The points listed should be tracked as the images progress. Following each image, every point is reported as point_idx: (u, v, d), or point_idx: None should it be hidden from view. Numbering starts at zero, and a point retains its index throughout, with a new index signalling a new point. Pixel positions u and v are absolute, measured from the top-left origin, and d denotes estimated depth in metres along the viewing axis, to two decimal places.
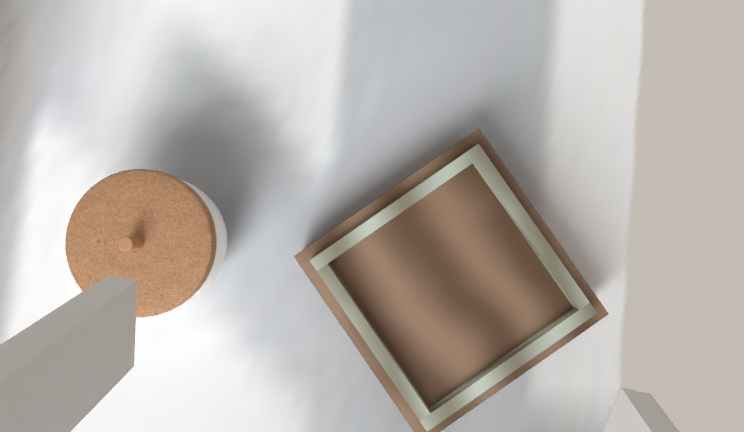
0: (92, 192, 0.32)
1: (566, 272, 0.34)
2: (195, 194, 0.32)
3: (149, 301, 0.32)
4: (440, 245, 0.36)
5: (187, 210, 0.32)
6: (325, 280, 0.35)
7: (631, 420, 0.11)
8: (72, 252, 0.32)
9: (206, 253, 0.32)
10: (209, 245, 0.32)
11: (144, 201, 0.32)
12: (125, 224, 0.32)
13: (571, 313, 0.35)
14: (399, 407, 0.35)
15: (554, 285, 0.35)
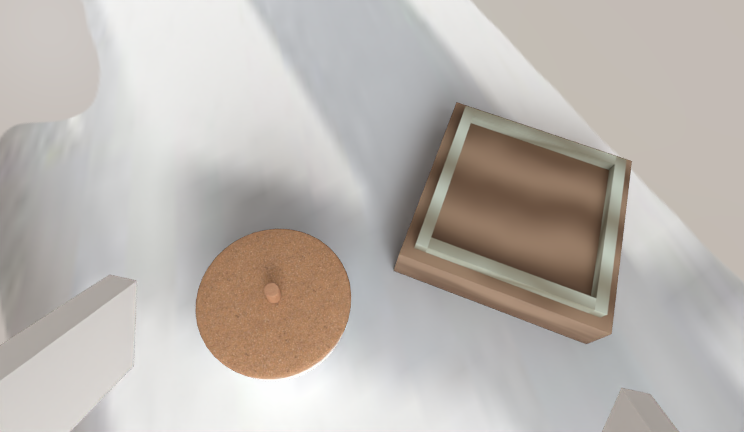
0: (206, 279, 0.31)
1: (585, 147, 0.43)
2: (299, 231, 0.34)
3: (317, 339, 0.30)
4: (495, 182, 0.41)
5: (302, 244, 0.33)
6: (439, 250, 0.37)
7: (631, 420, 0.11)
8: (216, 342, 0.29)
9: (340, 268, 0.32)
10: (338, 261, 0.33)
11: (260, 258, 0.32)
12: (254, 286, 0.31)
13: (612, 170, 0.42)
14: (570, 317, 0.36)
15: (585, 163, 0.43)
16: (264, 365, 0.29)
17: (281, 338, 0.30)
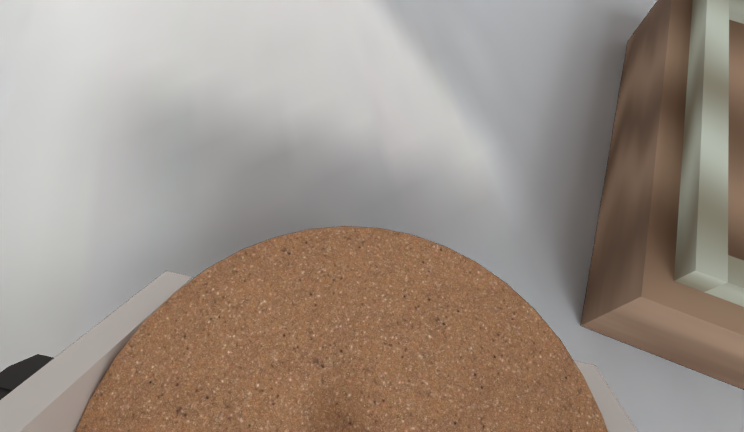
0: (102, 410, 0.08)
1: None
2: None
3: None
4: None
5: (430, 278, 0.10)
6: None
7: None
8: None
9: (564, 363, 0.10)
10: (551, 336, 0.10)
11: (295, 328, 0.09)
12: None
13: None
14: None
15: None
16: None
17: None
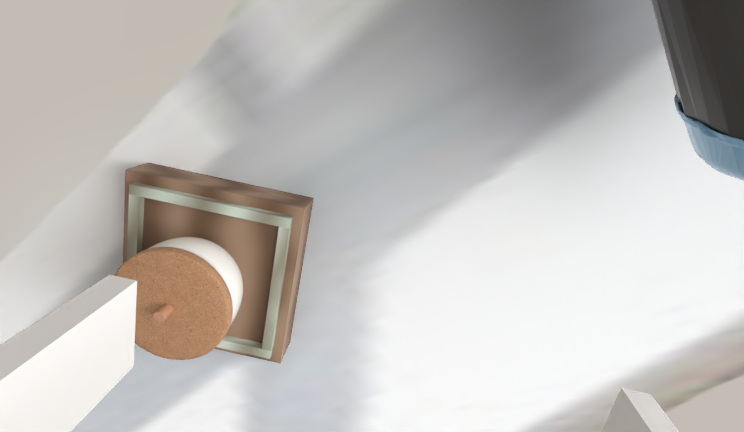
0: (172, 356, 0.40)
1: (129, 222, 0.44)
2: None
3: (189, 271, 0.37)
4: None
5: None
6: (270, 343, 0.47)
7: (631, 420, 0.11)
8: (213, 339, 0.39)
9: (129, 263, 0.38)
10: (124, 265, 0.38)
11: (143, 324, 0.39)
12: (165, 324, 0.39)
13: None
14: (298, 239, 0.44)
15: (145, 215, 0.45)
16: (218, 304, 0.38)
17: (196, 297, 0.38)
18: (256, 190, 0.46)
